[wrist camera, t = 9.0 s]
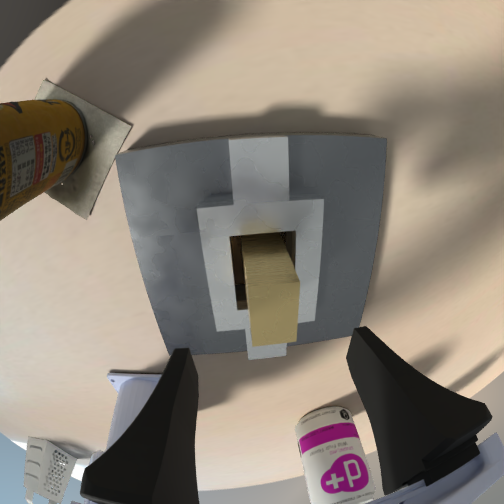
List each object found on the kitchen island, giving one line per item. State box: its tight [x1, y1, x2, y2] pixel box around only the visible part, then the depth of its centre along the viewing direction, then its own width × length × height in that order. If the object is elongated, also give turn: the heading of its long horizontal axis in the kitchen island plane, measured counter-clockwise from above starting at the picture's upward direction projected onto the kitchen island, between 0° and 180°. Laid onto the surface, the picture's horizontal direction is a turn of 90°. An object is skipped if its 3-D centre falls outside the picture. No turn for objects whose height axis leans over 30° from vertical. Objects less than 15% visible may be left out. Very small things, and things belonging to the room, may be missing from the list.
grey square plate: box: [115, 132, 387, 356], centre depth 19 cm, size 16×16×2 cm
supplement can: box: [295, 406, 376, 504], centre depth 27 cm, size 8×8×15 cm
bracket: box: [197, 135, 324, 360], centre depth 17 cm, size 16×7×1 cm, turn 3°
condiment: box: [0, 80, 131, 221], centre depth 9 cm, size 7×8×12 cm
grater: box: [24, 437, 77, 504], centre depth 33 cm, size 10×10×20 cm
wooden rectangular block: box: [241, 232, 300, 347], centre depth 17 cm, size 4×2×7 cm, turn 3°
